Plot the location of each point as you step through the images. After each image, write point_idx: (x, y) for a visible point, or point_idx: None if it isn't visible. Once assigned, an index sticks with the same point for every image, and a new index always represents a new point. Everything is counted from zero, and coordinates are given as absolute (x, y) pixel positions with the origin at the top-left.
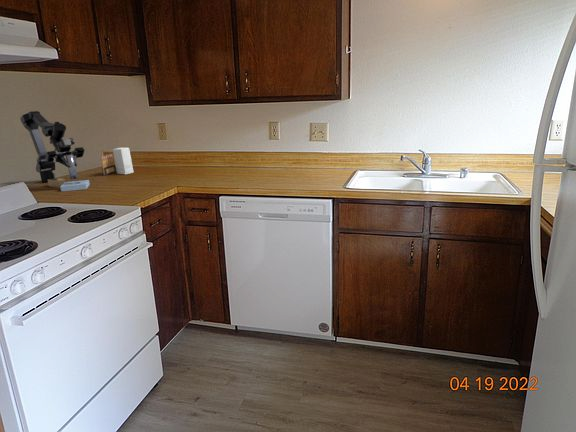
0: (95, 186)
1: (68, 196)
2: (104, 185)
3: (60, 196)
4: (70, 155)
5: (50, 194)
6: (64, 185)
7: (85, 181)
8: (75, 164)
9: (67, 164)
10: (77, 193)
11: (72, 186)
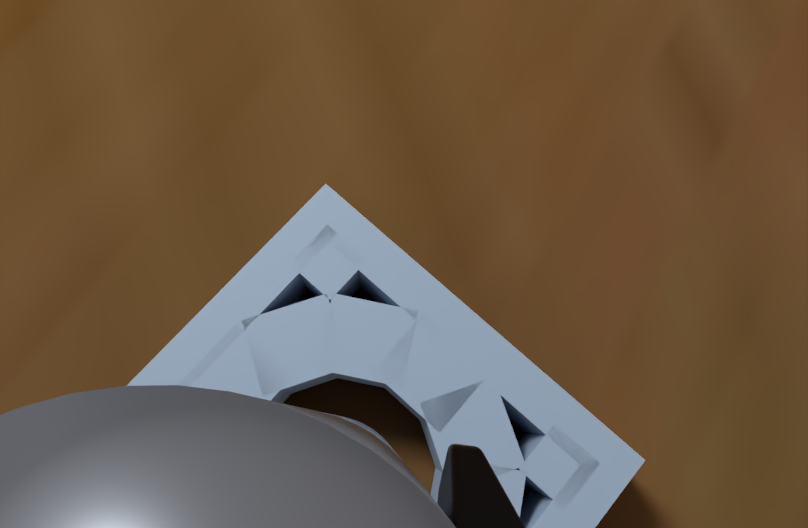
0: (155, 229)
1: (720, 43)
2: (57, 149)
3: (776, 147)
4: (274, 412)
5: (800, 427)
6: (549, 492)
7: None
8: None
9: (505, 506)
10: (568, 79)
11: (487, 326)
